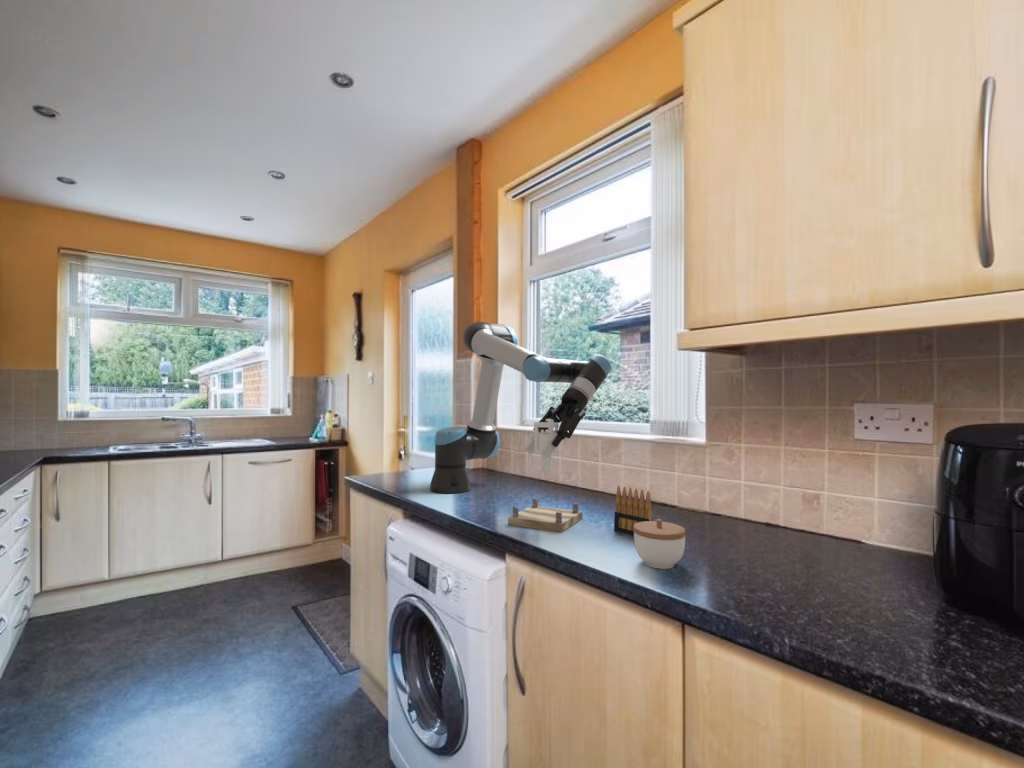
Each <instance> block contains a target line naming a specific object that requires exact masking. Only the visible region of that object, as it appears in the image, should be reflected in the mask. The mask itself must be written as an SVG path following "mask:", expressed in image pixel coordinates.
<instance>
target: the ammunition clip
mask: <svg viewBox="0 0 1024 768" xmlns="http://www.w3.org/2000/svg"><path fill="white" fill-rule="evenodd" d="M626 488H627V487H626V486H624V487H623V488H622V491H621V487H620V485H617V489H616V496H615V511H614V520H613V521H614V524H613V531H614V532H618V533H621V534H625V535H629V536H632V537H634V530H633V526H634V524H636V523H639V522H644V521H654V519H653V517H652V515H653V514H652V503H651V499H652V498H651V494H650V491H649V490H647V492H646V495H645V492H644V490H643V489H641V490H640V493H639V491H638V489H637V488H635V490H634V493H633V490H632V487H629V489H628V492H627V489H626ZM627 493H628V494H627Z"/></svg>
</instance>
